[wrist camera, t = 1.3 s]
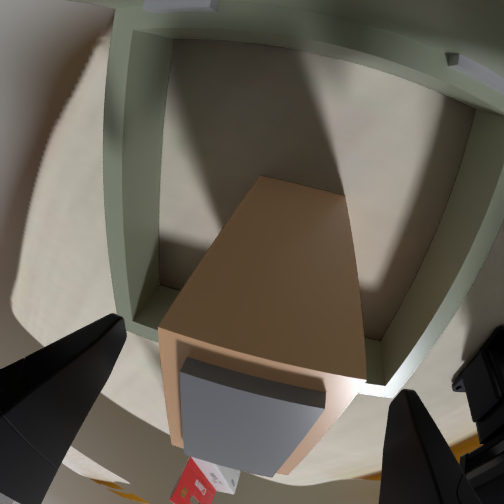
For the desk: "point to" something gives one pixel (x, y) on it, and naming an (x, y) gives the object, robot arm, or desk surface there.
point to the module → (266, 333)
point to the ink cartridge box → (203, 482)
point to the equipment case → (337, 46)
